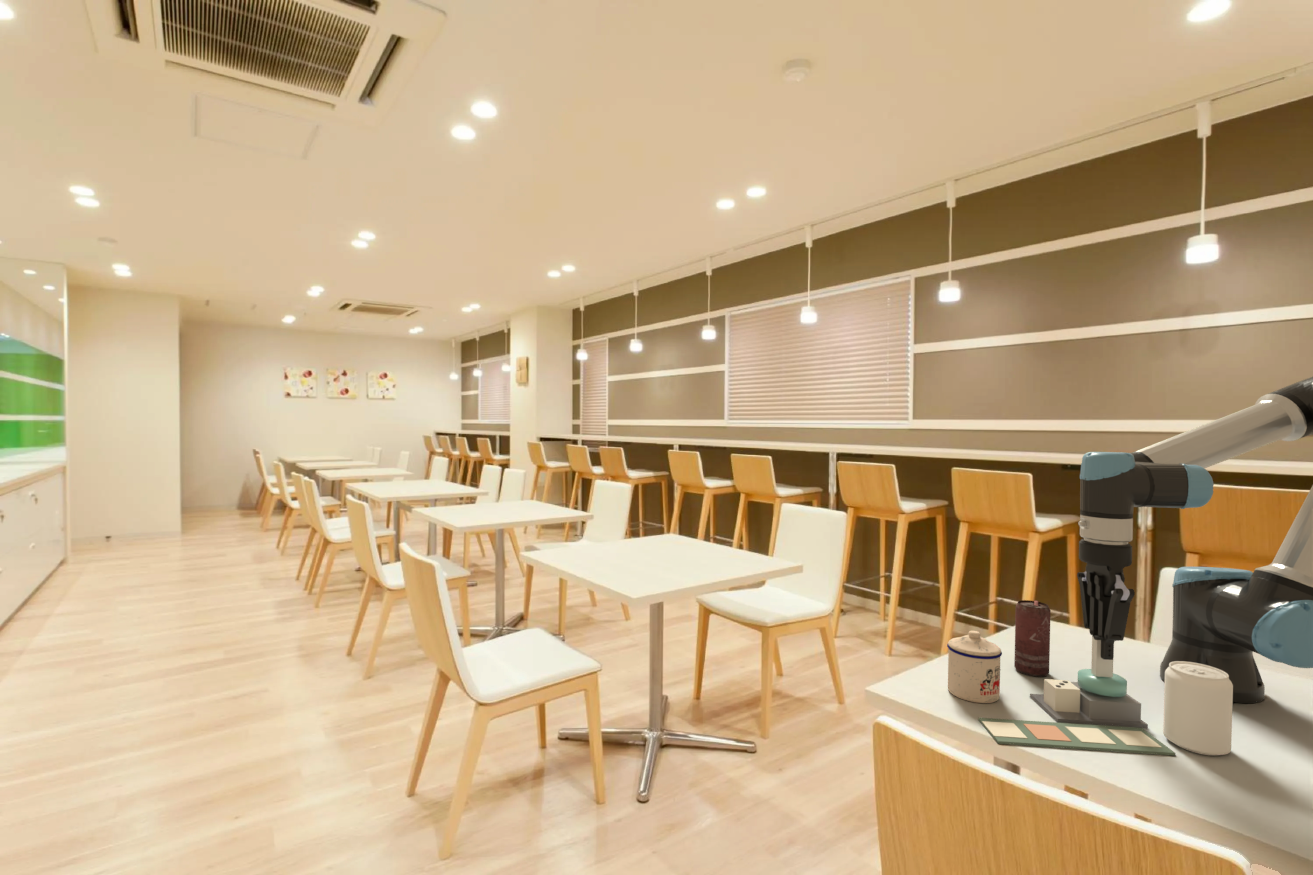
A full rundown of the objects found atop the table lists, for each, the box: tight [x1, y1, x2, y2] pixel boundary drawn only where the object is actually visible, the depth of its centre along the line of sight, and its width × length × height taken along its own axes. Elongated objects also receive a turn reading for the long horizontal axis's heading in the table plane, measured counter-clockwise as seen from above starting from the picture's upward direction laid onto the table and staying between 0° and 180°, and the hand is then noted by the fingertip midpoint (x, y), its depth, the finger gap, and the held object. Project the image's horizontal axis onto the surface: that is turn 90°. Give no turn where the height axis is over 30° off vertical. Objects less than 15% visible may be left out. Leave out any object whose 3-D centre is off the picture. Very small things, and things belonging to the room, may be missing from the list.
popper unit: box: [1029, 678, 1149, 729], centre depth 110 cm, size 14×10×5 cm
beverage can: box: [1162, 661, 1234, 756], centre depth 99 cm, size 8×8×12 cm
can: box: [1014, 599, 1052, 678], centre depth 128 cm, size 6×6×14 cm
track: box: [977, 717, 1177, 757], centre depth 101 cm, size 26×8×1 cm, turn 83°
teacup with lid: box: [946, 630, 1003, 704], centre depth 118 cm, size 12×9×12 cm
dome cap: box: [1077, 668, 1128, 697], centre depth 110 cm, size 7×7×5 cm
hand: (1102, 674), depth 110 cm, fingers closed
